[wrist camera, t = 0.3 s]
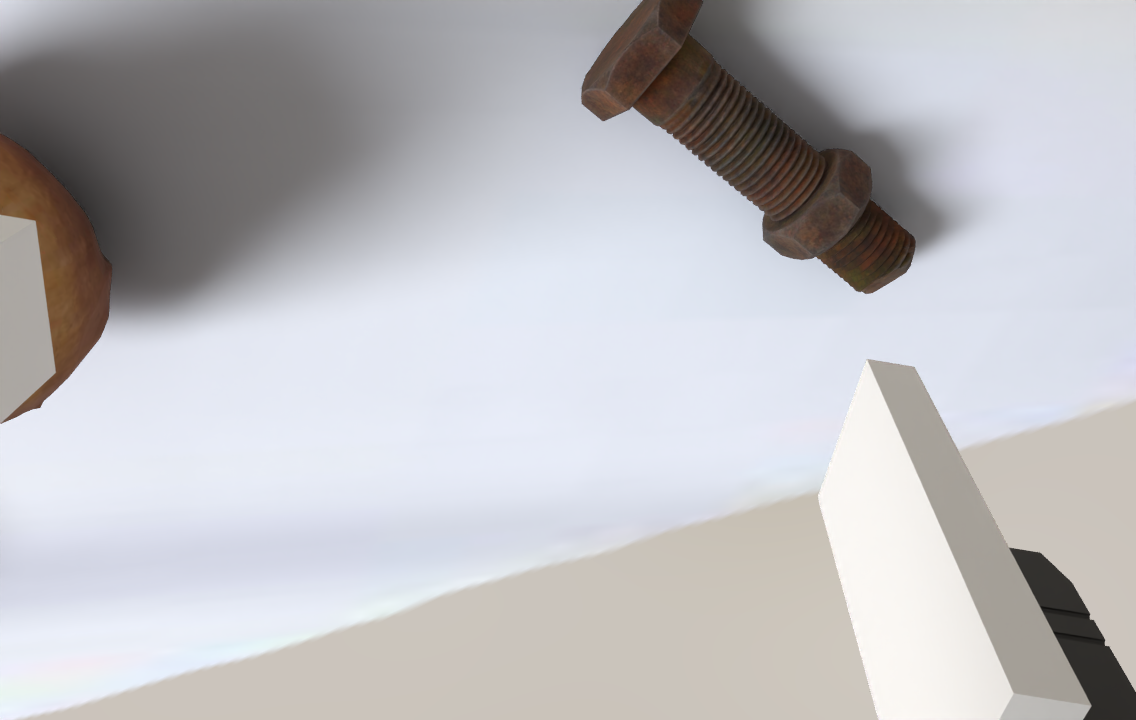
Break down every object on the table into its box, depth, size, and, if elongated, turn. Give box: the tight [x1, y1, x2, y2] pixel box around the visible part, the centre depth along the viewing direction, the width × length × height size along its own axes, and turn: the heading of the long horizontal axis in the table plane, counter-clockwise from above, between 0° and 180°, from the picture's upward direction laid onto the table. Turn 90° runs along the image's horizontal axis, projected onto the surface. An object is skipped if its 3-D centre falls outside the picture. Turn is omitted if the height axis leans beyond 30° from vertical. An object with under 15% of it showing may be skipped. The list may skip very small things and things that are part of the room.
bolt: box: [581, 0, 916, 294], centre depth 38 cm, size 6×5×15 cm
